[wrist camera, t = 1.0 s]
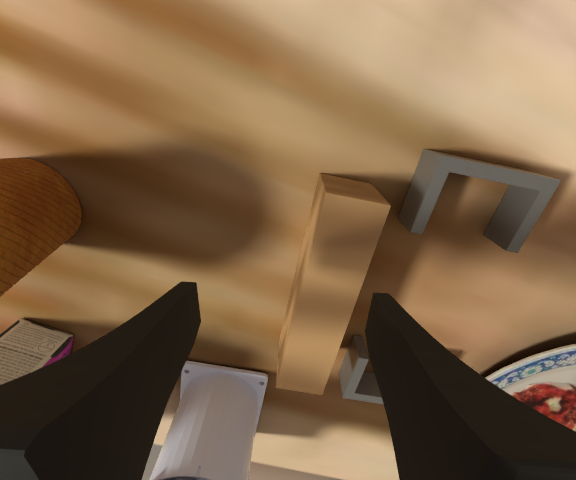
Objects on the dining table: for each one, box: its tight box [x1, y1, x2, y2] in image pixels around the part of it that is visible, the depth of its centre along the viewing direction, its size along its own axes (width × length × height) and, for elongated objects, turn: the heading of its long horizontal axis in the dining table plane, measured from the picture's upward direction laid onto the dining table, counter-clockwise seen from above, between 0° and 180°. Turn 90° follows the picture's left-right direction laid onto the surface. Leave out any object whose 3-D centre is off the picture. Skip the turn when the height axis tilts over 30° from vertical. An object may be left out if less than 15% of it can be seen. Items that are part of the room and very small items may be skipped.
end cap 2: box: [398, 149, 561, 253], centre depth 19 cm, size 5×7×2 cm, turn 79°
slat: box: [276, 173, 391, 395], centre depth 21 cm, size 15×4×5 cm, turn 169°
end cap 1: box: [339, 335, 384, 404], centre depth 25 cm, size 5×7×2 cm, turn 79°
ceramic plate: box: [486, 344, 576, 431], centre depth 28 cm, size 26×26×3 cm
